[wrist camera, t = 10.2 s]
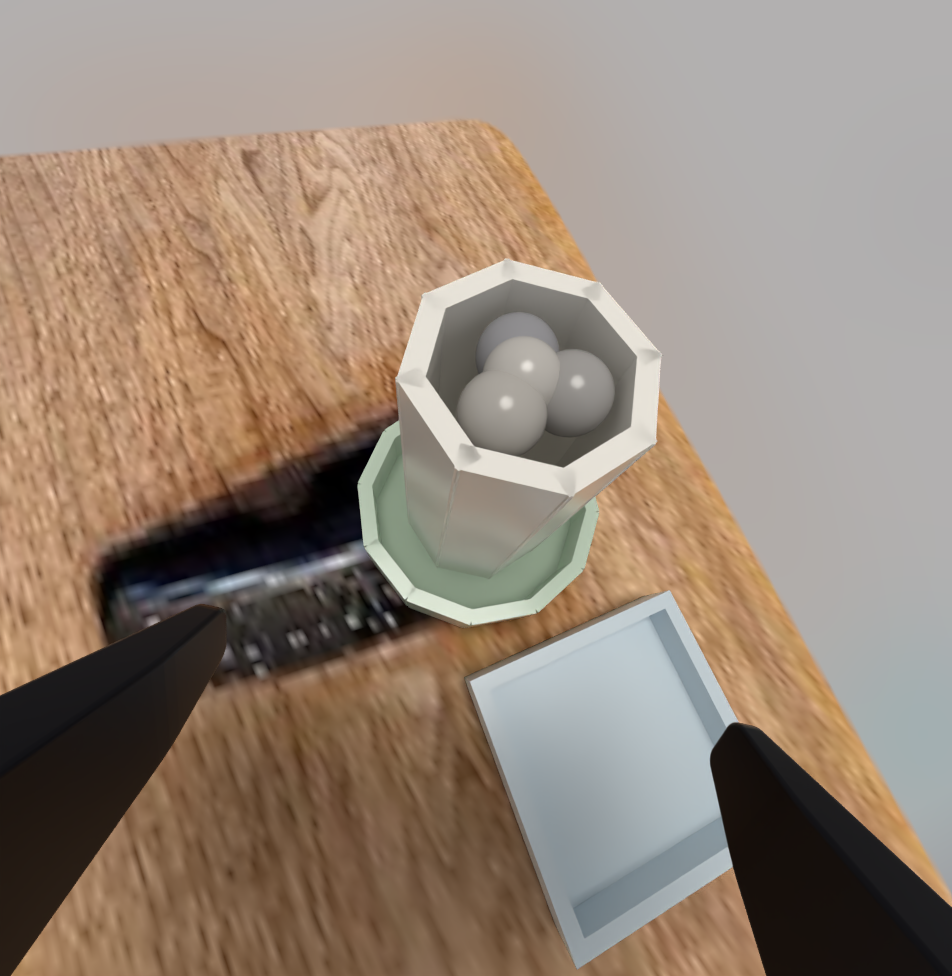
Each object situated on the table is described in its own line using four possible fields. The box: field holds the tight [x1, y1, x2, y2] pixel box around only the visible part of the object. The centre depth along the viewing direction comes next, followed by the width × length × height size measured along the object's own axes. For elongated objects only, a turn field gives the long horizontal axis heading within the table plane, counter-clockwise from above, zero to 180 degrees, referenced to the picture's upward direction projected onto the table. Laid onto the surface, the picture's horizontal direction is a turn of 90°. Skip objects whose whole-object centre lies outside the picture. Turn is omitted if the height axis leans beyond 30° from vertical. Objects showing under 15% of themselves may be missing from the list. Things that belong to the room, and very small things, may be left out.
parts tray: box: [464, 590, 739, 969], centre depth 18 cm, size 10×10×2 cm
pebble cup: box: [395, 259, 662, 579], centre depth 16 cm, size 6×6×12 cm
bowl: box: [358, 421, 599, 628], centre depth 21 cm, size 10×10×3 cm
